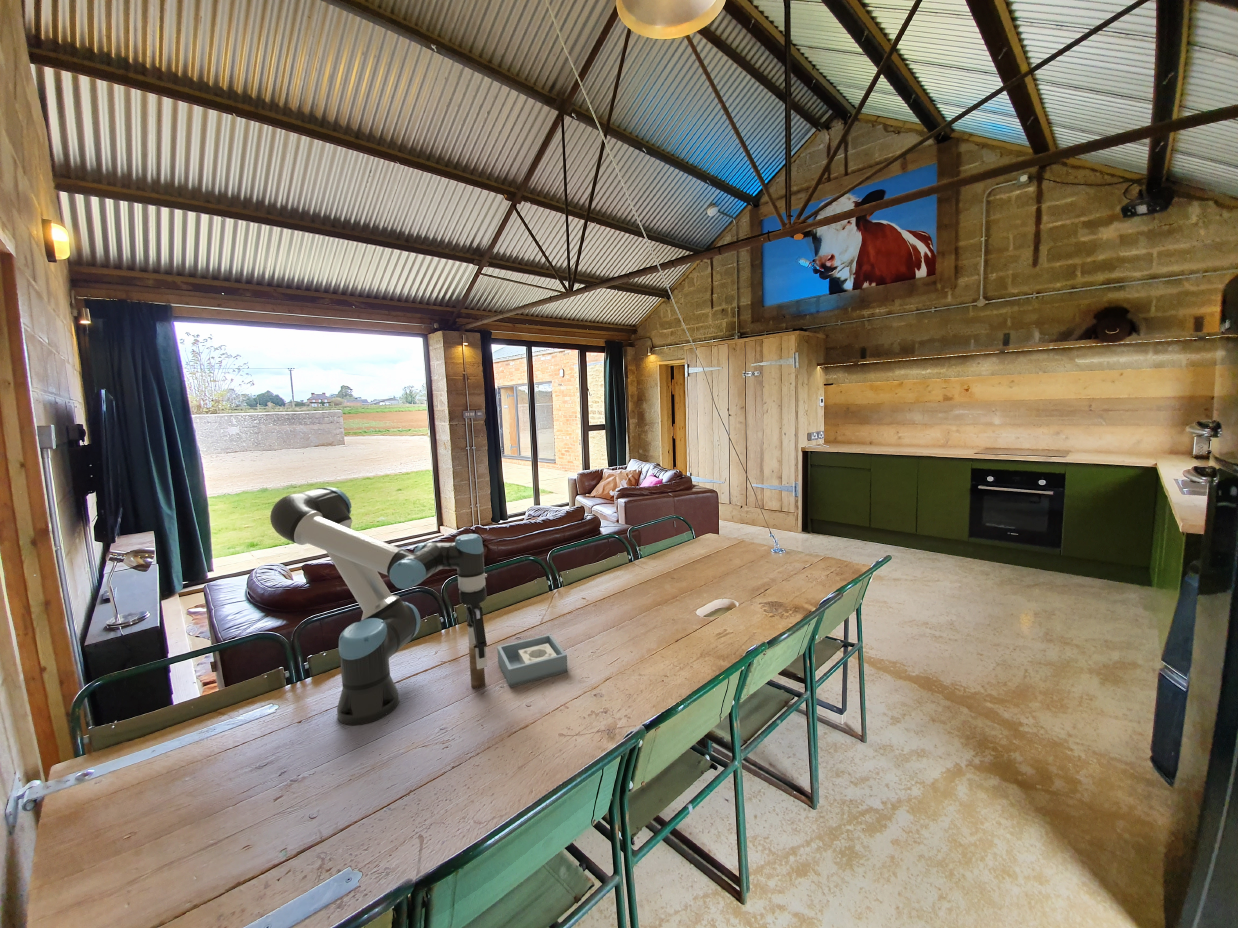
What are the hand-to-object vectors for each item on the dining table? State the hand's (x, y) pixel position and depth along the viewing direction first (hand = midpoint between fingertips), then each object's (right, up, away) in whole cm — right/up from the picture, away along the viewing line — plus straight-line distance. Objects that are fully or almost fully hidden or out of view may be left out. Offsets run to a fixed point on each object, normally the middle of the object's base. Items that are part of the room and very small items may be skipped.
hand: (477, 657), depth 142 cm
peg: (0, -9, +1) cm, 9 cm away
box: (+14, -7, +10) cm, 19 cm away
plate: (+16, -7, +11) cm, 21 cm away
